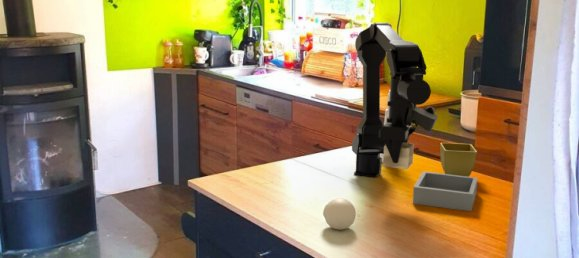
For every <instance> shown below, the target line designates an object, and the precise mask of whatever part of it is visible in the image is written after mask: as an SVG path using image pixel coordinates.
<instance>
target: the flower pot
mask: <svg viewBox="0 0 579 258" xmlns="http://www.w3.org/2000/svg"><path fill="white" fill-rule="evenodd" d="M439 147H440V163H441V164H440V165H441V167H442V170H443V174H449V175H458V176H467V177H471V175H472V172H473V170H474V167H475V164H476V158H477V154H478V151H477V150H476V148H475V147H474V146H473V144H472V143H461V142H460V143H459V142H457V143H455V142H440V146H439Z"/></svg>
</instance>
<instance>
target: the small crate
mask: <svg viewBox="0 0 579 258" xmlns="http://www.w3.org/2000/svg"><path fill="white" fill-rule="evenodd" d="M414 148H415V144H414V143H412V142H408V143H406V142H403V143H402V148H401V152H400V156H399V160H398V163H393V161H392V159H391V156H390V154H389V151H388V149H387V146H386V145H385V146H384V158H383V162H382V166H383V167H387V168H392V169H393V168H394V169H403V170H408V169H410V167H411V166H412V164H413V162H414V151H415V150H414Z"/></svg>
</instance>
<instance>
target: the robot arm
mask: <svg viewBox="0 0 579 258" xmlns="http://www.w3.org/2000/svg"><path fill="white" fill-rule="evenodd" d="M354 45H355V51H356V55H357V58H358V60H359V62H360V63H361V65H362V119H361V120H360V122H359V123H358V125H357V127H356V133H355V136H354V138H353V140H352V143H351V151H352V153H354V154H355V155H356V156H355V171H354V172H353V175H356V176H363V177H371V178H372V177H373V178H377V176H378V175H379V174H380V173H382V166H383V162H382V158H381V157H380V154H384V146H385V145H386V146H387V149H388V151H389V154H390V156H391V159H392V161H393V163H398V160H399V156H400V152H401V148H402V143H403V142H406V143H409V140H410V136H411V135H412V134H413V133H414V132H416V130H417V129H418V127H420V128H422V129H423V130H425V131H427V132H431V131H432V130H433V128H434V126H435V123H436V122H437V119H438V114H436V110H435V107H432V106H430V105H429V106H428V107H427V108H425V109H424V108H420V107H417V106H419V105H423V104H425V103H426V102H427V101H428V100H429V99H430V97H431V94H432V93H431V92H432V89H431V86H430V84H429V83H428V82H427V81H426V80H425V79H424V76H426V74H427V64H426V62H425V61H426V60H425V58H424V56H423V52H422V49H421V47H420V46H419V44H417V43H415V42H413V41H408V40H405V39H403V38H402V37H401V36H400V35H399V34H398V33H397V32H396V31H395V30H394V29H393V27H392V24H391V23H389V22H373V23H371V24H370V25H369V27H367V28H365V29H363V30H362V31H360V32H359V34H357V37H356V39H355V44H354ZM385 59H386V63H387V66H388V68H389V71H390V72H389V76H390V85H389V86H390V87H389V88H390V89H389V90H390V100H389V101H388V104H387V103H386V107H387V106H389V117H388V118H387V123H386V124H385V125H384V122H383V121H382V120H381V117H380V116H381V111H380V110H381V107H380V105H381V65H382V63H383V62H384V60H385ZM390 123H392V124H390ZM412 125H415V126H412Z"/></svg>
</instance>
